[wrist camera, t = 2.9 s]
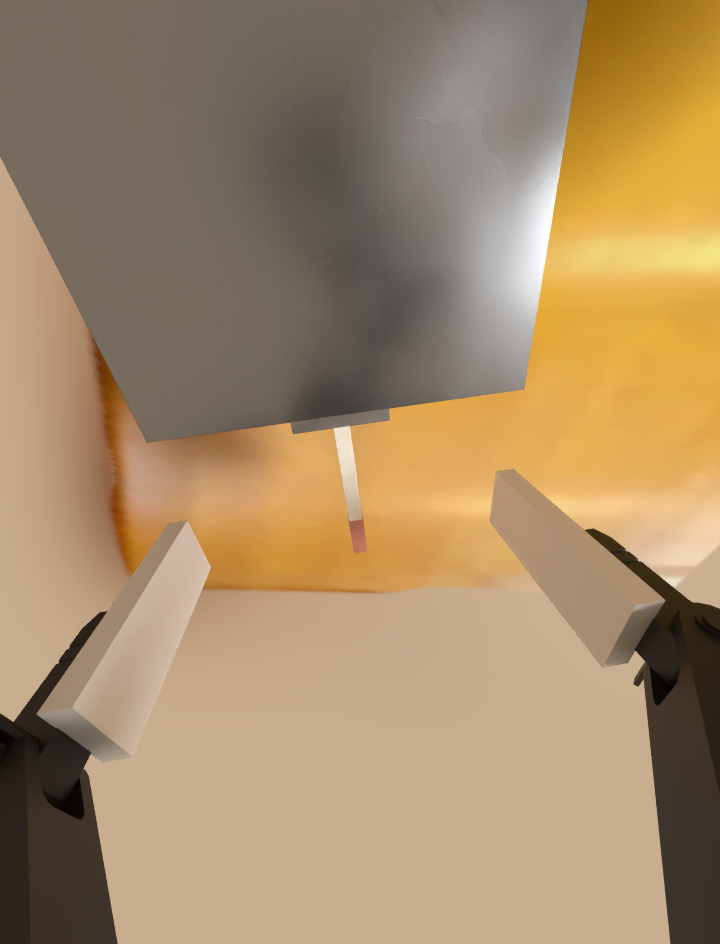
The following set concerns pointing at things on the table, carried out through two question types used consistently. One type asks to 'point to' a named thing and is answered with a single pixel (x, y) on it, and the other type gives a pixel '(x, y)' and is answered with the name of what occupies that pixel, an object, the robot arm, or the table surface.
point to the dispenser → (293, 195)
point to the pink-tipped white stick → (351, 488)
